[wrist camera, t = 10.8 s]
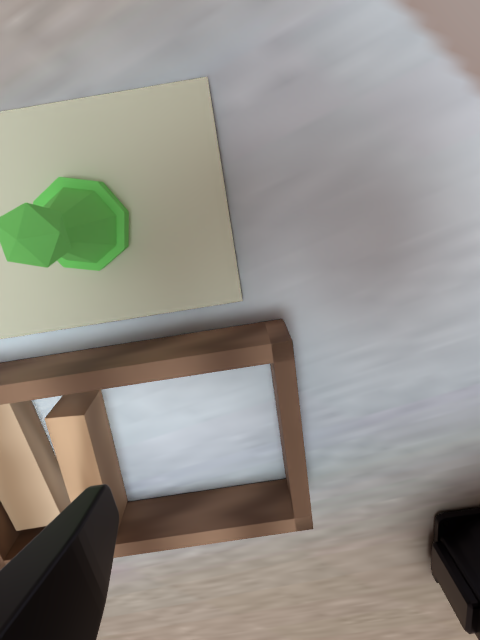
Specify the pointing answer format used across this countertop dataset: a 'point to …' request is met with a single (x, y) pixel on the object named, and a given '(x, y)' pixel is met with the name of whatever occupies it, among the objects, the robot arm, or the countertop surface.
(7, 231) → the game piece
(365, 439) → the countertop surface
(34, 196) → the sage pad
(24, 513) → the block
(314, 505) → the countertop surface
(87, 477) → the offcut top
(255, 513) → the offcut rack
